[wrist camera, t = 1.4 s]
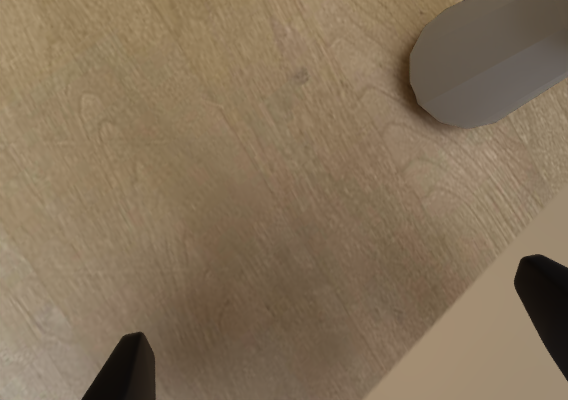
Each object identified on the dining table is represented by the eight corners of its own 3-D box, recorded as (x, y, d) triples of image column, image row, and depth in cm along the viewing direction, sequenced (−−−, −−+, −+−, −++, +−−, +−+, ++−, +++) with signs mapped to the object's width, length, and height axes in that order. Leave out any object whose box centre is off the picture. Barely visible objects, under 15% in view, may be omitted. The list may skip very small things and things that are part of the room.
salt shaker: (395, 22, 22) (589, -203, 9) (500, 25, 23) (827, -187, 10) (394, 133, 23) (580, 65, 10) (498, 135, 23) (814, 71, 10)
